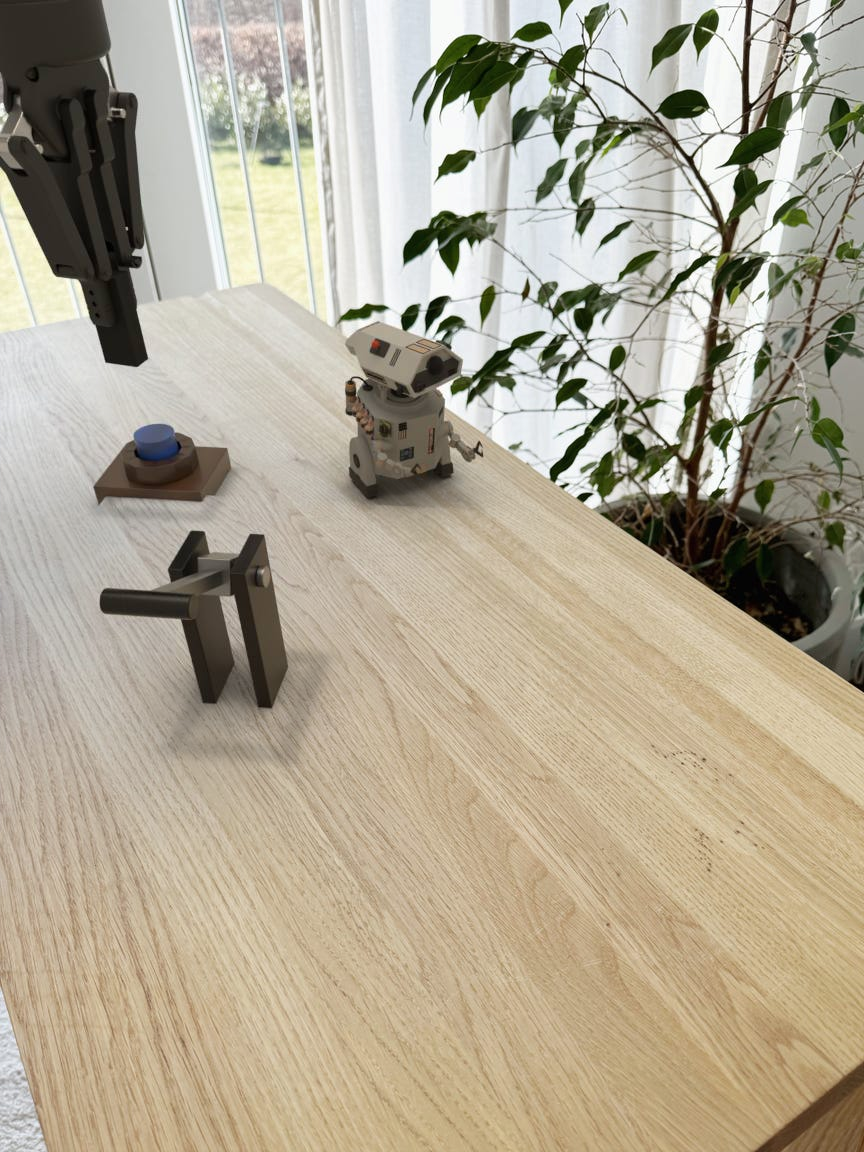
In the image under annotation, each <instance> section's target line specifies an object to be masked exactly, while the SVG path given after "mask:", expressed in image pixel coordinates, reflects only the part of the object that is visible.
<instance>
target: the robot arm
mask: <svg viewBox="0 0 864 1152" xmlns="http://www.w3.org/2000/svg"><path fill="white" fill-rule="evenodd" d="M104 9H105V8H104V4H103V0H0V76H1V80H2V103H3V107H4V110H5V112H6V114H7V115H8V116H7V118H6V120H5V121H4V124H3V127H2V129H1V131H0V169H1V170H2V172H3V173H4V174H5V175H6V178H7V180H8V182H9V184H10V186H11V188H12V190H13V192H14V194H15V196H16V198H17V200H18V203H19V205H20V207H21V209H22V211H23V213H24V215H25V217H26V219H27V222H28V223H29V225H30V228H31V230H32V232H33V234H34V237H35V238H36V241H37V242H38V245H39V248H40V249H41V251H42V253H43V255H44V257H45V259H46V261H47V264H48V265H49V268H50V270H51V272H52V274H53V275H54V276H55V277H56V278H62V279H68V280H70V279H71V280H77V281H78V283H79V284H80V287H81V290H82V294H83V298H84V302H85V305H86V309H87V313H88V317H89V320H90V322H92V324H93V325H94V326H95V329H96V333H97V337H98V340H99V344H100V348H101V353H102V355H103V359H104V362H105V364H110V365H117V366H125V367H132V368H139V367H140V366H142V364H144V363H145V362H147V361H148V360H149V356H148V351H147V347H146V343H145V339H144V336H143V331H142V326H141V322H140V318H139V314H138V310H137V309H138V298H137V295H136V292H135V287H134V283H133V278H132V275H131V271H130V269H137V270H138V269H140V268H141V266H142V264H143V256H138V255H133V253H134V252H135V250H142V249H143V248H144V246H145V231H144V218H143V217H144V216H143V207H142V195H141V185H140V184H141V183H140V171H139V162H138V149H137V148H138V147H137V139H136V138H137V137H136V129H137V119H138V109H139V101H138V97H137V96H136V94H135V93H133V92H130V91H129V92H127V91H119V90H117V89H116V88H115V87H113V86H112V85H110V84H111V83H110V79H109V75H108V73H107V70H106V69H105V67H104V65H103V63H102V61H101V59H102V58H104V57H105V56H107V55H108V54H109V53H110V51H111V48H112V40H111V36H110V31H109V27H108V22H107V18H106V12H105V10H104Z"/></svg>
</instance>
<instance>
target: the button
mask: <svg viewBox="0 0 864 1152" xmlns="http://www.w3.org/2000/svg"><path fill="white" fill-rule="evenodd" d="M133 440H134V441H135V445H136V449H137V453H138V456H139V458H140V459H141V460H143V461H159V460H164V459H168V458H170V457H172V456H174V455H176V454H178V451H179V449H178V445H177V440H176V436H175V429H174V427H173V426H171V425H170V424H166V423H152V424H146V425H144V426H141V427H139V428H138V429H136V430H135V431H134V433H133Z"/></svg>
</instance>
